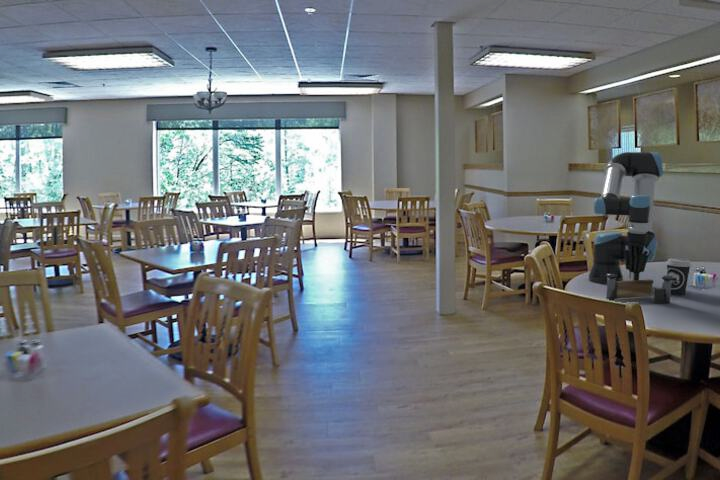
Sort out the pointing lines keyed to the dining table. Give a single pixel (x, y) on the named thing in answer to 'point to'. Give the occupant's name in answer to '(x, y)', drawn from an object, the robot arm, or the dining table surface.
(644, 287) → the brown wooden board
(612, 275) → the hinge post
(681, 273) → the coffee cup
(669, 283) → the post
